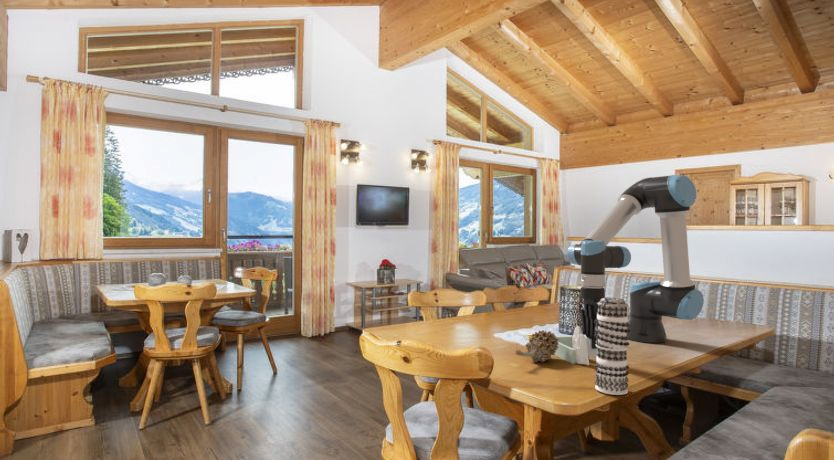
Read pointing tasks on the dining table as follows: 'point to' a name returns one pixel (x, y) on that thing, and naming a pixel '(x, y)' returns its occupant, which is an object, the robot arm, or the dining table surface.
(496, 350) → the dining table surface
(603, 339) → the decorative candle
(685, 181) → the robot arm
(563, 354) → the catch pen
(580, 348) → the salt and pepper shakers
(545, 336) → the pine cone
